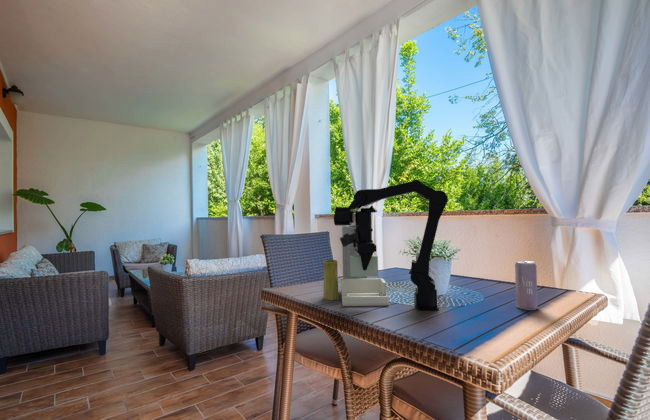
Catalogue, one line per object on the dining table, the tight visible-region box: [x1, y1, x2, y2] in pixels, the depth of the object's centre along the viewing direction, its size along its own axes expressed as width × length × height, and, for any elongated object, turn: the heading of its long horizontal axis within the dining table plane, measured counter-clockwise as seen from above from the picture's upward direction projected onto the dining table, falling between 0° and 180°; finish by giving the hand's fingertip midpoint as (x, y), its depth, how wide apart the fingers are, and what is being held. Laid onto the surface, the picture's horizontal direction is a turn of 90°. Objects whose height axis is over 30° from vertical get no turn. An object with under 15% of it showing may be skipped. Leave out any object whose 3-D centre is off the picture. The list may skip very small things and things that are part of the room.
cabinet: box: [340, 277, 390, 307], centre depth 119 cm, size 16×13×7 cm
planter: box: [341, 224, 368, 279], centre depth 134 cm, size 10×10×27 cm
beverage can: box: [514, 260, 538, 311], centre depth 106 cm, size 6×6×15 cm
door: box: [350, 255, 379, 278], centre depth 115 cm, size 10×2×7 cm, turn 90°
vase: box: [322, 259, 340, 301], centre depth 123 cm, size 6×6×14 cm
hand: (364, 269), depth 115 cm, fingers closed on door, 2 cm apart
